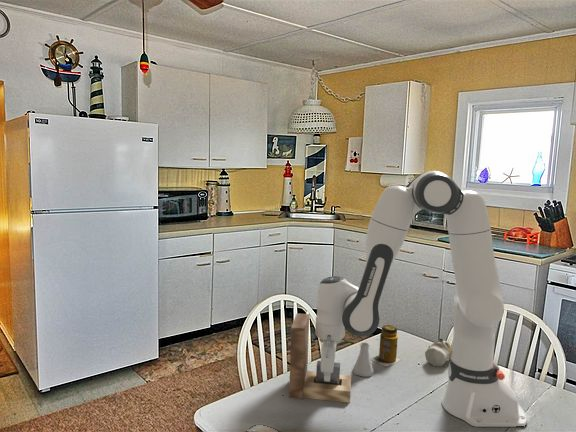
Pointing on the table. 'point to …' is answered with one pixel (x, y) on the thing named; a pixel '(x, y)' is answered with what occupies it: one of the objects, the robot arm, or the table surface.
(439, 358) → the ceramic sculpture
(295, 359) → the tan slotted wooden fixture
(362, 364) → the flask
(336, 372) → the brushed steel bar
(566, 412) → the table surface
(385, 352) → the condiment
